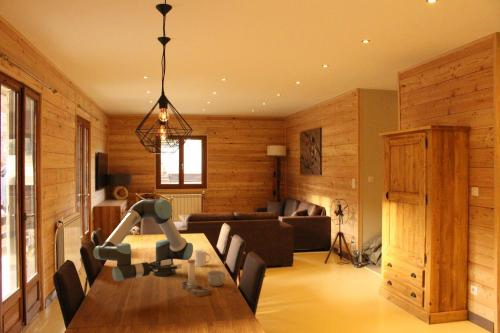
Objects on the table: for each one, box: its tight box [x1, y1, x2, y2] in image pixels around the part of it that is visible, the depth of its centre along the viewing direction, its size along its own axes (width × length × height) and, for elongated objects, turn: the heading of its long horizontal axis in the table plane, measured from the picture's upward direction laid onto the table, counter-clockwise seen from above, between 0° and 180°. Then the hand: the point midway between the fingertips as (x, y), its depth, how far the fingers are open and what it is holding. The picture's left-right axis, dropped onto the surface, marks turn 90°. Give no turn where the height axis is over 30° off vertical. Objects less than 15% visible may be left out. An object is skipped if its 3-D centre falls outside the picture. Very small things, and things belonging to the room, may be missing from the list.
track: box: [181, 280, 212, 297], centre depth 249 cm, size 20×8×4 cm, turn 36°
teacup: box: [207, 270, 226, 287], centre depth 261 cm, size 14×11×8 cm
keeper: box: [186, 259, 199, 288], centre depth 254 cm, size 6×5×16 cm
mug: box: [193, 249, 212, 268], centre depth 315 cm, size 9×12×11 cm
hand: (176, 263), depth 248 cm, fingers open, 13 cm apart
